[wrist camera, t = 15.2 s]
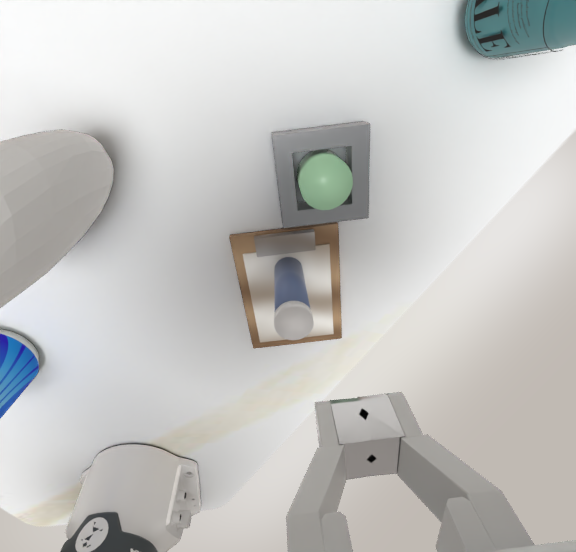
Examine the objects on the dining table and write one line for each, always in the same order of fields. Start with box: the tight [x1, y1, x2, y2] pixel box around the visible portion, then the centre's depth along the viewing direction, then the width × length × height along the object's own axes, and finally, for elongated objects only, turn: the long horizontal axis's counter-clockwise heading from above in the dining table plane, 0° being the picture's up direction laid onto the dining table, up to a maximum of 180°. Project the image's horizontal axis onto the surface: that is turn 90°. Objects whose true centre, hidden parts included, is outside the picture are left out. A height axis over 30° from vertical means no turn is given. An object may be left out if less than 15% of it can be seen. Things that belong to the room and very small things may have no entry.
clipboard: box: [229, 222, 342, 348], centre depth 36 cm, size 15×11×1 cm
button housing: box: [272, 121, 370, 228], centre depth 29 cm, size 8×8×2 cm
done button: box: [297, 149, 353, 210], centre depth 28 cm, size 4×4×4 cm
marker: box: [274, 257, 314, 340], centre depth 29 cm, size 3×3×10 cm
